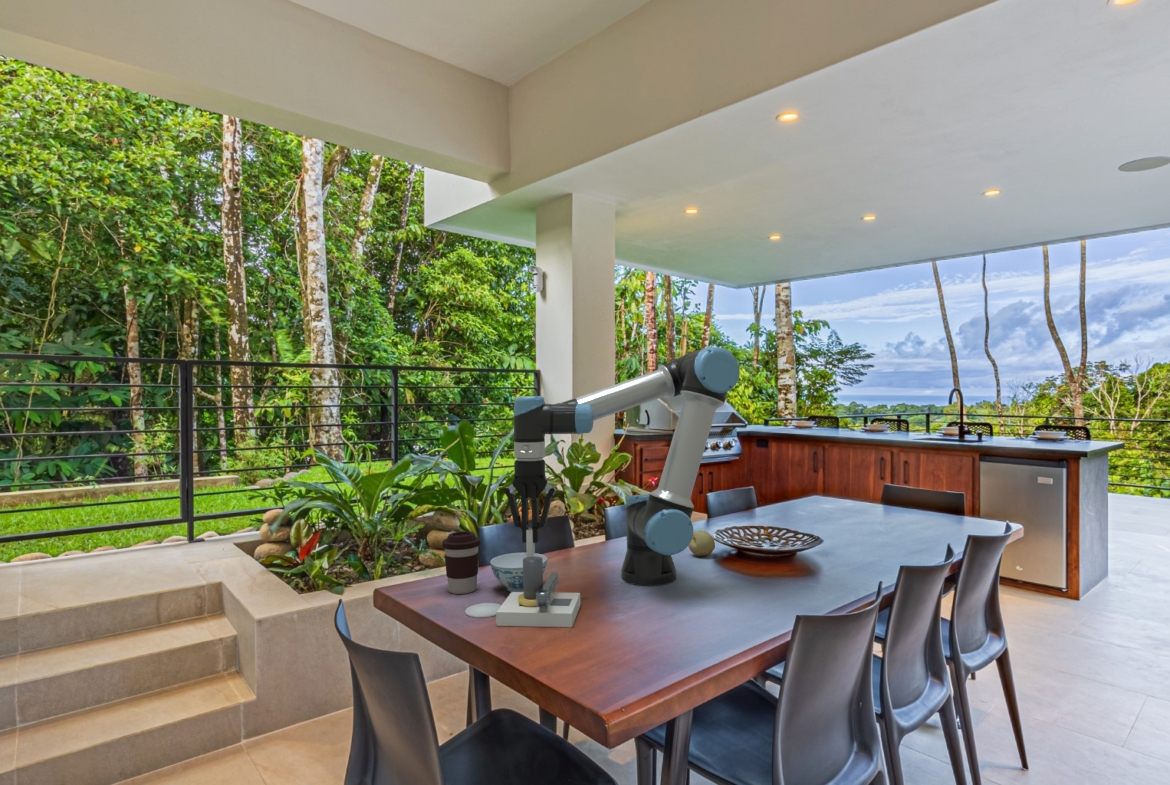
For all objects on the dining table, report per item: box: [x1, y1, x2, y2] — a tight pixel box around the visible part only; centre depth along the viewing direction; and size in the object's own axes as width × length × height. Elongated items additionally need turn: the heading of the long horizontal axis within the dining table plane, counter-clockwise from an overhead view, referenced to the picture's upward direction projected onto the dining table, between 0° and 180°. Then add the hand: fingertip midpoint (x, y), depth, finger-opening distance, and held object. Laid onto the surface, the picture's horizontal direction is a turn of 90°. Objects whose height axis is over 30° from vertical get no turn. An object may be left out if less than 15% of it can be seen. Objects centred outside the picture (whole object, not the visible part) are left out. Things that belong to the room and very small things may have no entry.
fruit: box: [687, 530, 716, 557], centre depth 187 cm, size 8×8×8 cm
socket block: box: [495, 592, 581, 628], centre depth 139 cm, size 17×14×4 cm
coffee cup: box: [441, 530, 481, 595], centre depth 159 cm, size 10×10×15 cm
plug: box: [518, 556, 544, 606], centre depth 140 cm, size 7×7×13 cm
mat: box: [464, 602, 502, 619], centre depth 143 cm, size 9×9×1 cm
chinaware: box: [489, 552, 548, 593], centre depth 159 cm, size 15×15×8 cm
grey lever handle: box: [536, 571, 559, 606], centre depth 140 cm, size 17×3×2 cm, turn 173°
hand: (530, 555), depth 146 cm, fingers closed
